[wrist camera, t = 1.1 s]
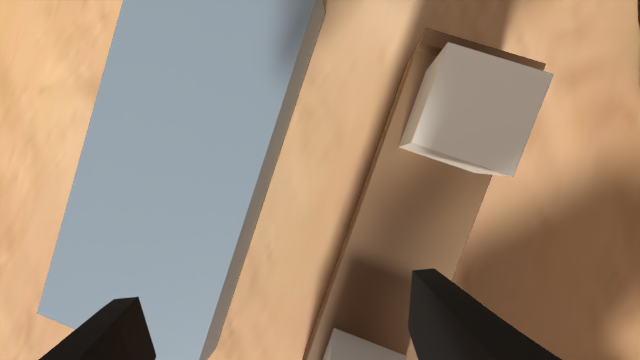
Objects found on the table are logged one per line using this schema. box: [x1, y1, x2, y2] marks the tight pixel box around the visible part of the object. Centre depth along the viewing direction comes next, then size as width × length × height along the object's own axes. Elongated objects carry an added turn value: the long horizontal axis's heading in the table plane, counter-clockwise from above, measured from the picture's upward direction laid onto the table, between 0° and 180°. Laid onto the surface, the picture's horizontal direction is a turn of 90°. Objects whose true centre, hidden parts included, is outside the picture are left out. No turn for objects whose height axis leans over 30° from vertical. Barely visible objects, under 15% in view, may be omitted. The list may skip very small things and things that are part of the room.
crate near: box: [399, 42, 554, 177], centre depth 13 cm, size 4×4×4 cm
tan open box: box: [303, 28, 546, 360], centre depth 17 cm, size 5×19×6 cm, turn 161°
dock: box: [37, 0, 325, 360], centre depth 20 cm, size 10×22×3 cm, turn 161°
